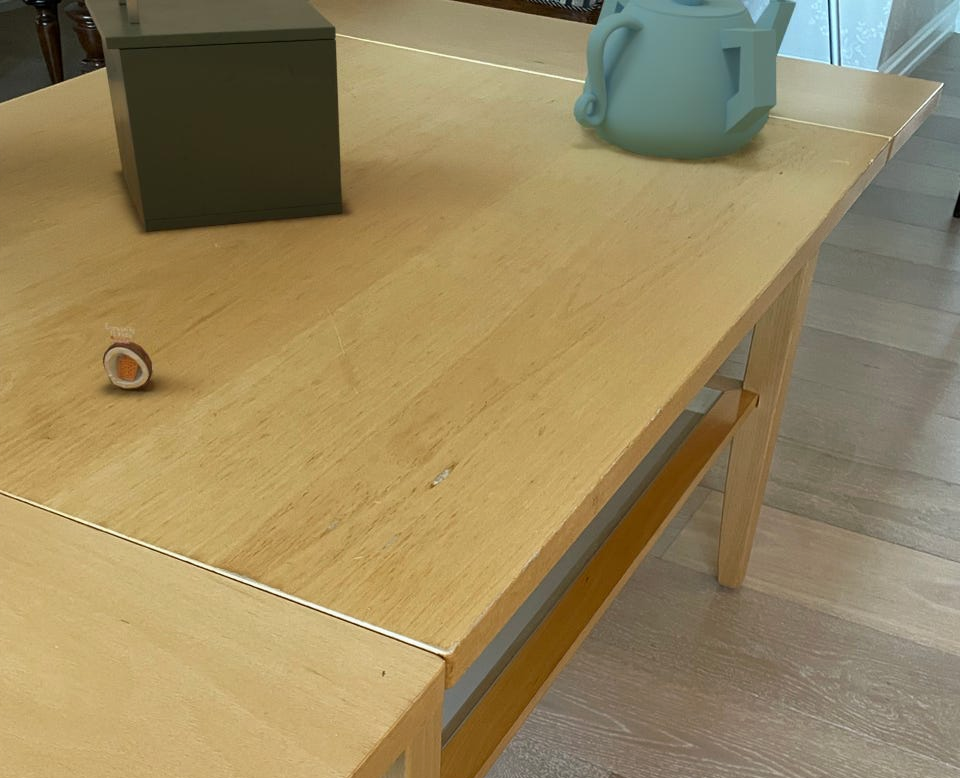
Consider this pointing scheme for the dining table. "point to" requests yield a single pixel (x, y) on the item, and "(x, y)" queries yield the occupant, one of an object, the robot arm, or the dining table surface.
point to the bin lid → (205, 22)
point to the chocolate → (127, 362)
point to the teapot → (681, 75)
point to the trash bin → (228, 131)
